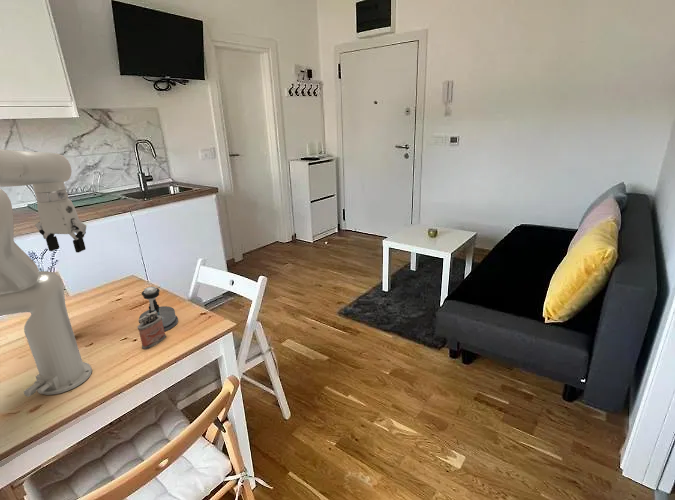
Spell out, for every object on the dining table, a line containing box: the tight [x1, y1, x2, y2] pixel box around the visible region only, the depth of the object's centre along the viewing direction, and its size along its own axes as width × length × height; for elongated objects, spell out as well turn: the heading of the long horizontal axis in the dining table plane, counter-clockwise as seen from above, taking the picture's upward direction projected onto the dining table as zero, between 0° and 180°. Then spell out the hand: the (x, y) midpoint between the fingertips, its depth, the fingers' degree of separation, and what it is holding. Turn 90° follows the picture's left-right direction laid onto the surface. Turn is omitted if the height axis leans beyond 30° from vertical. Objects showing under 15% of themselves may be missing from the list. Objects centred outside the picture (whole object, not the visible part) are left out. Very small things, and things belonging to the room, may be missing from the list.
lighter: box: [136, 311, 167, 350], centre depth 119 cm, size 8×3×10 cm, turn 154°
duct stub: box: [138, 305, 179, 332], centre depth 130 cm, size 12×12×4 cm
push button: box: [141, 286, 161, 316], centre depth 127 cm, size 7×5×10 cm
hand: (67, 250), depth 120 cm, fingers open, 9 cm apart
